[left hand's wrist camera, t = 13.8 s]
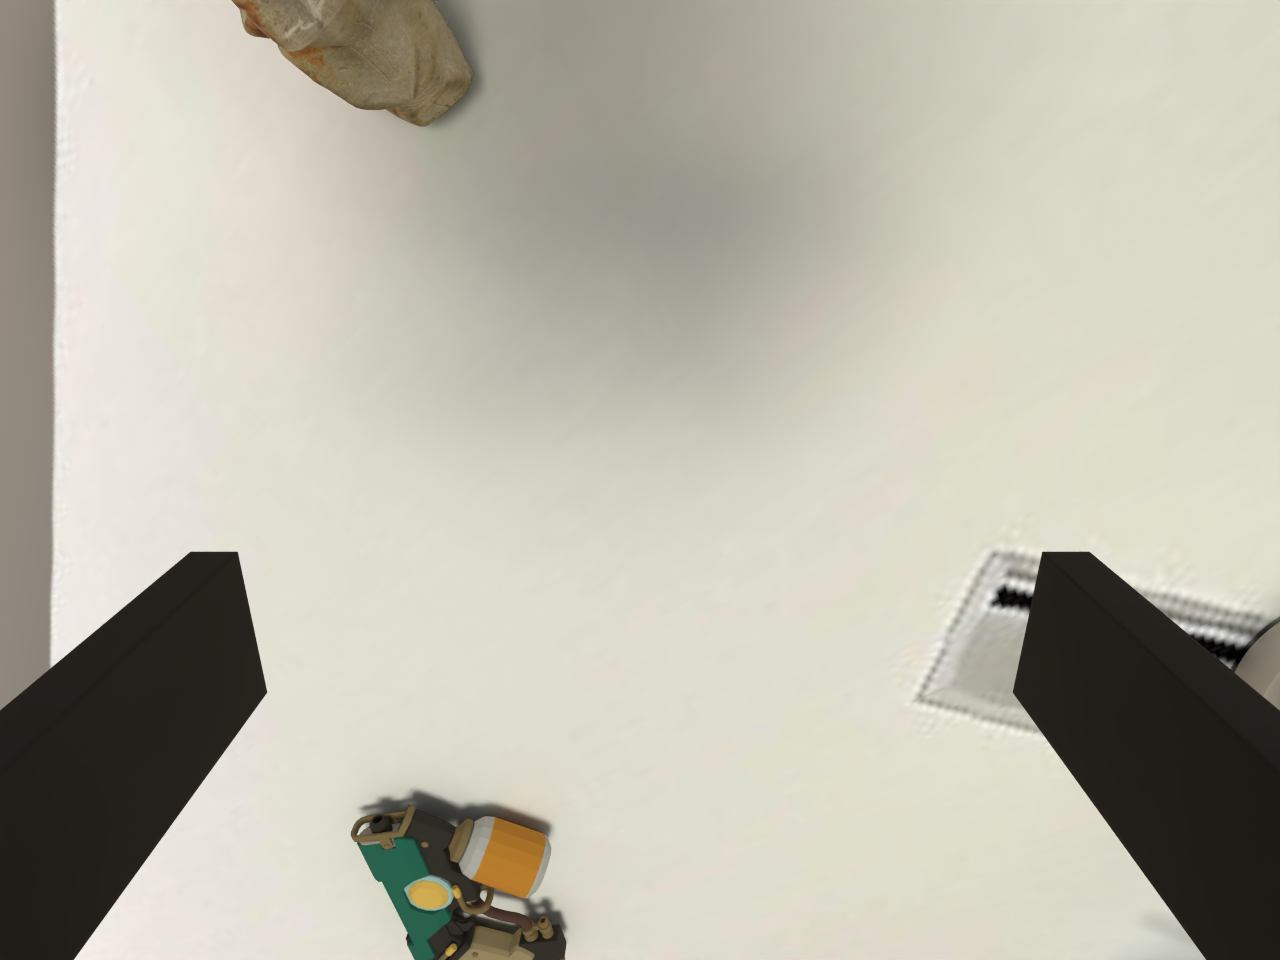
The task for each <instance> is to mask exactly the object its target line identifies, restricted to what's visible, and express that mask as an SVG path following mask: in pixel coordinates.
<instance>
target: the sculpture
mask: <svg viewBox="0 0 1280 960" xmlns="http://www.w3.org/2000/svg"><path fill="white" fill-rule="evenodd" d="M232 1H233V2H234V3H235V5H236V6H237V7H238V8H239V9H240V13H241V18H242V23H243V26H244V29H245V30H246V32H247V33H248V34H250V35H252V36H256V37H263V38H271V39H272V40H273V41H274V42H275V43H277V44H278V47H279V50H280V51H281V53H282V54H283V56H284V57H286V58H287V59H288V60H289V61H290V62H291V63H292V64H294V65H295V66H296V67H297V68H299V69H300V70H301V71H302V72H304V73H305V74H306V75H308V76H309V77H310V78H311V79H312V80H313V81H314V82H316V83H318V84H319V85H321V86H323V87H325V88H327V89H328V90H330V91H331V92H333V93H334V94H336V95H337V96H339V97H341V98H342V99H344V100H345V101H346V102H348V103H349V104H351V105H353V106H355V107H357V108H360V109H365V110H381V109H386V110H388V111H390V112H391V113H393V114H394V115H396V116H398V117H399V118H401V119H403V120H405V121H407V122H410V123H412V124H415V125H418V126H427V125H429V124H430V123H432V122H433V121H434V120H436V119H437V118H438V117H440V116H441V115H442V114H443V113H445V112H446V111H447V110H448V109H449V108H450V107H452V106H453V105H454V104H455V103H456V102H457V101H458V100H459V99H460V98H461V97H462V96H463V95H464V93H465V92H466V91H467V89H468V88H469V87H470V84H471V78H472V77H473V72H472V69H471V68H470V66H469V64H468V63H467V61H466V59H465V58H464V56H463V53H462V51H461V49H460V46H459V44H458V42H457V40H456V39H455V37H454V35H453V33H452V31H451V29H450V28H449V26H448V24H447V23H446V21H445V19H444V18H443V16H442V15H441V13H440V12H439V10H438V9H437V7H436V6H435V4H434V3H433V1H432V0H232Z"/></svg>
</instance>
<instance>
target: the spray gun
mask: <svg viewBox="0 0 1280 960" xmlns="http://www.w3.org/2000/svg"><path fill="white" fill-rule="evenodd" d="M398 818H404V819H402V820H401V822H399V820H398ZM367 822H370V826H369V827H367V828H366V829H364V830H363V831H362V832H361V834H360V835H359V836H358V835H357V833H358V830H359V828H360V827H361V826H362V825H363V824H364V823H367ZM351 837H352V839H353V840H354V842H357V844H358V846H359V848H360V850H361V852H362V854H363V856H364V858H365V860H366V862H367V864H368V866H369V868H370V870H371V872H372V874H373V876H374V878H375V879H376V880H377V881H379V882H382V883H383V885H384V887H385V889H386V891H387V893H388V895H389V896H390V898H391V900H392V902H393V904H394V906H395V908H396V910H397V912H398V914H399V916H400V918H401V920H402V922H403V924H404V926H405V928H406V930H407V932H408V934H407V937H406V940H407V945H408V947H409V949H410V951H411V953H412V955H413V957H414V959H415V960H565V950H566V940H565V937H564V935H563V932H562V930H561V927H560V925H551V922H550V920H549V919H548V918H547V917H546V916H543V917H541V918H540V919H539V921H538V923H534V922H533V920H531V919H529V918H527V917H526V916H525V915H522V914H520V913H516V912H510V911H505V910H502V909H498V908H495V907H493V906H490V905H491V902H492V900H493V894H494V888H495V889H498V890H501V891H504V892H506V893H509V894H512V895H515V896H517V897H520V898H528V897H529V896H531V895H532V894H533V893H535V892H536V891H537V889H538V888H539V886H540V884H541V882H542V880H543V877H544V875H545V872H546V869H547V866H548V863H549V859H550V855H551V845H550V843H549V840H548V838H547V836H546V835H545V834H543V833H540V832H537V831H534V830H531V829H528V828H525V827H523V826H520V825H517V824H514V823H511V822H508V821H505V820H502V819H499V818H496V817H489V816H484V817H482V818H480V819H478V820H477V821H475V822H474V823H473V820H471V819H466V820H464V821H463V822H462V823H461V824H460V825H459V826H457V827H455V826H453V825H452V824H450V823H448V822H445V821H443V820H441V819H438V818H436V817H434V816H431V815H429V814H427V813H424V812H422V811H420V810H415V807H413V806H409V807H408V808H407V810H406V811H402V812H394V813H386V814H378V815H370V816H365V817H362V818H360V819H359V820H357V822H356V823H355V824H354V826H353V829H352V831H351ZM478 882H479V883H480V884H478ZM482 890H488V892H487V897H486V900H485V902H484V901H483V900H482V899H481V898H480V893H481V891H482ZM468 901H469V902H471V903H472V904H473V906H474V907H473V906H469V905H467V903H466V902H468ZM459 906H460V907H461V908H462V910H463V911H464V912H466V913H469V914H475V915H476V914H484V915H486V916H488V917H491V918H494V919H497V920H501V921H505V922H511V923H516V924H519V925H521V928H520V929H518V930H517V931H516V932H515V933H514V934H510V933H506V932H502V931H498V930H494V929H490V928H487V927H483V926H476V923H475V921H474V919H473V918H470V919H468V920H463V919H461V918H458V917H457V916H455V915H454V914H453V910H454V909H456V908H457V907H459Z"/></svg>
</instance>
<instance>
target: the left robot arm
mask: <svg viewBox="0 0 1280 960" xmlns="http://www.w3.org/2000/svg"><path fill="white" fill-rule="evenodd" d="M266 693H267V689H266V684H265V680H264V675H263V670H262V665H261V661H260V656H259V651H258V646H257V642H256V637H255V632H254V627H253V623H252V618H251V613H250V608H249V604H248V599H247V594H246V589H245V584H244V580H243V575H242V570H241V565H240V561H239V556H238V552H190V553H189V554H187V555H186V556H185V557H184V558H183V559H181V560H180V561H179V562H178V563H177V564H175V565H174V566H173V567H172V568H171V569H169V570H168V571H167V572H166V573H165V574H163V575H162V576H161V577H160V578H159V579H157V580H156V581H155V582H154V583H153V584H151V585H150V586H149V587H148V588H147V589H145V590H144V591H143V592H142V593H141V594H139V595H138V596H137V597H136V598H135V599H133V600H132V601H131V602H130V603H129V604H127V605H126V606H125V607H124V608H123V609H121V610H120V611H119V612H118V613H117V614H115V615H114V616H113V617H112V618H111V619H109V620H108V621H107V622H106V623H105V624H103V625H102V626H101V627H100V628H99V629H97V630H96V631H95V632H94V633H93V634H91V635H90V636H89V637H88V638H87V639H85V640H84V641H83V642H82V643H81V644H79V645H78V646H77V647H76V648H75V649H73V650H72V651H71V652H70V653H69V654H67V655H66V656H65V657H64V658H63V659H61V660H60V661H59V662H58V663H57V664H55V665H54V666H53V667H52V668H51V669H49V670H48V671H47V672H46V673H45V674H43V675H42V676H41V677H40V678H39V679H37V680H36V681H35V682H34V683H33V684H31V685H30V686H29V687H28V688H27V689H25V690H24V691H23V692H22V693H21V694H19V695H18V696H17V697H16V698H15V699H13V700H12V701H11V702H10V703H9V704H7V705H6V706H5V707H4V708H3V709H1V710H0V960H74V959H75V957H76V956H77V954H78V953H79V952H80V950H81V949H82V948H83V946H84V945H85V943H86V942H87V941H88V939H89V938H90V937H91V935H92V934H93V932H94V931H95V930H96V928H97V927H98V925H99V924H100V923H101V921H102V920H103V919H104V917H105V916H106V914H107V913H108V912H109V910H110V909H111V908H112V906H113V905H114V903H115V902H116V901H117V899H118V898H119V896H120V895H121V894H122V892H123V891H124V890H125V888H126V887H127V885H128V884H129V883H130V881H131V880H132V878H133V877H134V876H135V874H136V873H137V872H138V870H139V869H140V867H141V866H142V865H143V863H144V862H145V861H146V859H147V858H148V856H149V855H150V854H151V852H152V851H153V849H154V848H155V847H156V845H157V844H158V843H159V841H160V840H161V838H162V837H163V836H164V834H165V833H166V832H167V830H168V829H169V827H170V826H171V825H172V823H173V822H174V820H175V819H176V818H177V816H178V815H179V814H180V812H181V811H182V809H183V808H184V807H185V805H186V804H187V803H188V801H189V800H190V798H191V797H192V796H193V794H194V793H195V791H196V790H197V789H198V787H199V786H200V785H201V783H202V782H203V780H204V779H205V778H206V776H207V775H208V774H209V772H210V771H211V769H212V768H213V767H214V765H215V764H216V762H217V761H218V760H219V758H220V757H221V756H222V754H223V753H224V751H225V750H226V749H227V747H228V746H229V745H230V743H231V742H232V740H233V739H234V738H235V736H236V735H237V733H238V732H239V731H240V729H241V728H242V727H243V725H244V724H245V722H246V721H247V720H248V718H249V717H250V716H251V714H252V713H253V711H254V710H255V709H256V707H257V706H258V704H259V703H260V702H261V700H262V699H263V698H264V696H265V695H266ZM1013 693H1014V695H1015V696H1016V698H1017V699H1018V700H1019V702H1020V703H1021V704H1022V706H1023V707H1024V709H1025V710H1026V711H1027V713H1028V714H1029V715H1030V717H1031V718H1032V720H1033V721H1034V722H1035V724H1036V725H1037V727H1038V728H1039V729H1040V731H1041V732H1042V733H1043V735H1044V736H1045V738H1046V739H1047V740H1048V742H1049V743H1050V745H1051V746H1052V747H1053V749H1054V750H1055V751H1056V753H1057V754H1058V756H1059V757H1060V758H1061V760H1062V761H1063V762H1064V764H1065V765H1066V767H1067V768H1068V769H1069V771H1070V772H1071V774H1072V775H1073V776H1074V778H1075V779H1076V780H1077V782H1078V783H1079V785H1080V786H1081V787H1082V789H1083V790H1084V791H1085V793H1086V794H1087V796H1088V797H1089V798H1090V800H1091V801H1092V803H1093V804H1094V805H1095V807H1096V808H1097V809H1098V811H1099V812H1100V814H1101V815H1102V816H1103V818H1104V819H1105V820H1106V822H1107V823H1108V825H1109V826H1110V827H1111V829H1112V830H1113V832H1114V833H1115V834H1116V836H1117V837H1118V838H1119V840H1120V841H1121V843H1122V844H1123V845H1124V847H1125V848H1126V849H1127V851H1128V852H1129V854H1130V855H1131V856H1132V858H1133V859H1134V861H1135V862H1136V863H1137V865H1138V866H1139V867H1140V869H1141V870H1142V872H1143V873H1144V874H1145V876H1146V877H1147V878H1148V880H1149V881H1150V883H1151V884H1152V885H1153V887H1154V888H1155V890H1156V891H1157V892H1158V894H1159V895H1160V896H1161V898H1162V899H1163V901H1164V902H1165V903H1166V905H1167V906H1168V908H1169V909H1170V910H1171V912H1172V913H1173V914H1174V916H1175V917H1176V919H1177V920H1178V921H1179V923H1180V924H1181V925H1182V927H1183V928H1184V930H1185V931H1186V932H1187V934H1188V935H1189V937H1190V938H1191V939H1192V941H1193V942H1194V943H1195V945H1196V946H1197V948H1198V949H1199V950H1200V952H1201V953H1202V954H1203V956H1204V957H1205V959H1206V960H1280V710H1279V709H1277V708H1276V707H1275V706H1274V705H1273V704H1271V703H1270V702H1269V701H1268V700H1267V699H1265V698H1264V697H1263V696H1262V695H1261V694H1259V693H1258V692H1257V691H1256V690H1255V689H1253V688H1252V687H1251V686H1250V685H1249V684H1247V683H1246V682H1245V681H1244V680H1243V679H1241V678H1240V677H1239V676H1238V675H1237V674H1235V673H1234V672H1233V671H1232V670H1231V669H1229V668H1228V667H1227V666H1226V665H1225V664H1223V663H1222V662H1221V661H1220V660H1219V659H1217V658H1216V657H1215V656H1214V655H1213V654H1211V653H1210V652H1209V651H1208V650H1207V649H1205V648H1204V647H1203V646H1202V645H1201V644H1199V643H1198V642H1197V641H1196V640H1195V639H1193V638H1192V637H1191V636H1190V635H1189V634H1187V633H1186V632H1185V631H1184V630H1183V629H1181V628H1180V627H1179V626H1178V625H1177V624H1175V623H1174V622H1173V621H1172V620H1171V619H1169V618H1168V617H1167V616H1166V615H1165V614H1163V613H1162V612H1161V611H1160V610H1159V609H1157V608H1156V607H1155V606H1154V605H1153V604H1151V603H1150V602H1149V601H1148V600H1147V599H1145V598H1144V597H1143V596H1142V595H1141V594H1139V593H1138V592H1137V591H1136V590H1135V589H1133V588H1132V587H1131V586H1130V585H1129V584H1127V583H1126V582H1125V581H1124V580H1123V579H1121V578H1120V577H1119V576H1118V575H1117V574H1115V573H1114V572H1113V571H1112V570H1111V569H1109V568H1108V567H1107V566H1106V565H1105V564H1103V563H1102V562H1101V561H1100V560H1099V559H1097V558H1096V557H1095V556H1094V555H1093V554H1091V553H1090V552H1042V556H1041V561H1040V565H1039V570H1038V575H1037V580H1036V584H1035V589H1034V594H1033V599H1032V604H1031V608H1030V613H1029V618H1028V623H1027V627H1026V632H1025V637H1024V642H1023V646H1022V651H1021V656H1020V661H1019V665H1018V670H1017V675H1016V680H1015V684H1014V689H1013Z"/></svg>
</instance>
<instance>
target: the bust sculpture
mask: <svg viewBox="0 0 1280 960" xmlns="http://www.w3.org/2000/svg"><path fill="white" fill-rule="evenodd" d="M1235 674H1237V675H1238V676H1239V677H1240V678H1241V679H1243V680H1244V681H1245V682H1246V683H1247V684H1249V685H1250V686H1251V687H1252V688H1253V689H1255V690H1256V691H1257V692H1258V693H1259V694H1261V695H1262V696H1263V697H1264V698H1265V699H1267V700H1268V701H1269V702H1270V703H1271V704H1273V705H1274V706H1275V707H1276V708H1277V709H1279V710H1280V622H1279V623H1277V624H1276V625H1274V626H1273V627H1272V628H1271V629H1269V630H1268V631H1267V632H1266V633H1265V634H1263V635H1262V636H1261V637H1260V638H1259V639H1258V640H1257V641H1256V642H1255V643H1254V644H1253V645H1252V646H1251V648H1250V649H1249V650H1248V651H1247V653H1246V654H1245V655H1244V657H1243V658H1242V660H1241V661H1240V663H1239V665H1238V667H1237V669H1236V671H1235Z"/></svg>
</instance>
